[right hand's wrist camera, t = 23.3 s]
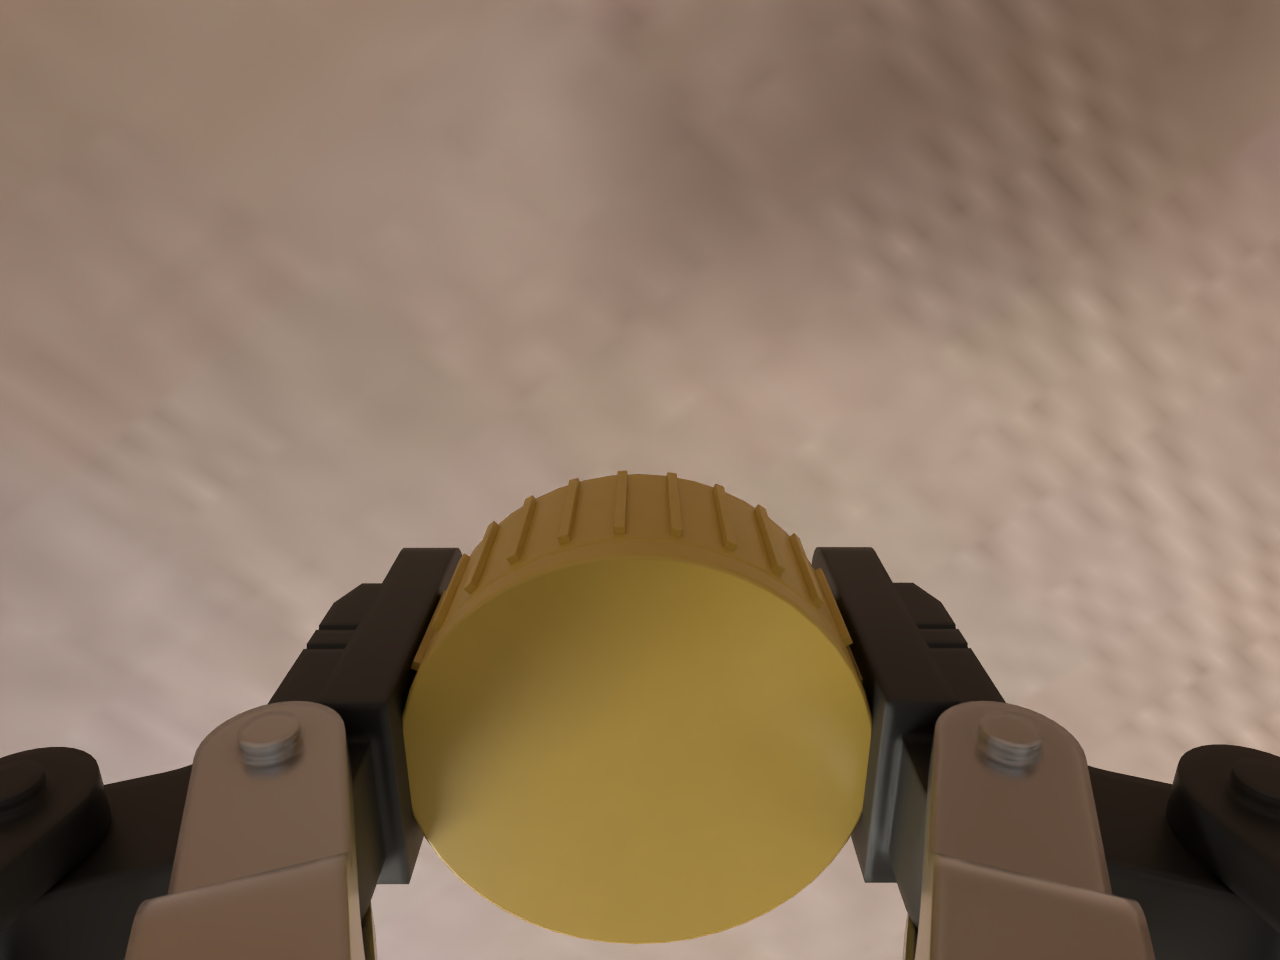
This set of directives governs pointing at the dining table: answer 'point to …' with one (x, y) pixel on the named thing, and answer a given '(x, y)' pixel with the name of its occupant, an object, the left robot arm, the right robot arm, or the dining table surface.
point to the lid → (637, 714)
